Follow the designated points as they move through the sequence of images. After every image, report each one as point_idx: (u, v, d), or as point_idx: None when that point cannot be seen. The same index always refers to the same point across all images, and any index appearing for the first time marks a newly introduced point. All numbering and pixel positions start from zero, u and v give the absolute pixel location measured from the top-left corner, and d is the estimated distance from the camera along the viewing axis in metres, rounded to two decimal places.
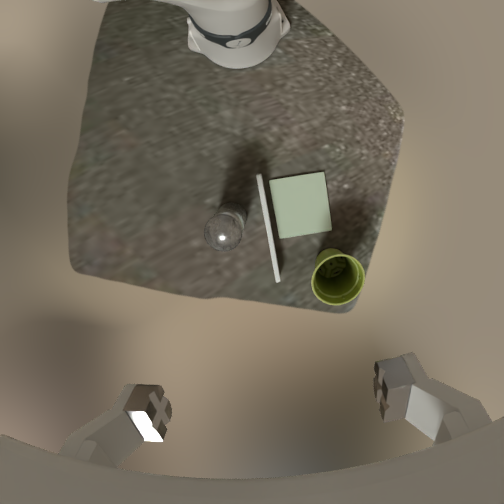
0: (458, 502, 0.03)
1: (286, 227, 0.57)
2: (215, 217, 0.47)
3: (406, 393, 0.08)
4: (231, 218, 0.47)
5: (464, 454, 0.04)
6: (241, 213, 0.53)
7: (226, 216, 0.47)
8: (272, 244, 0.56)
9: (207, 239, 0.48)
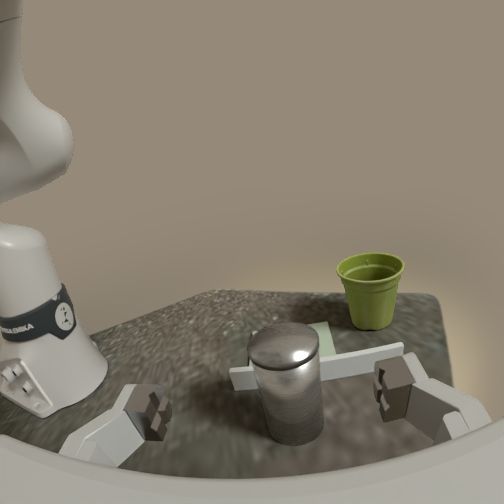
0: (458, 502, 0.03)
1: None
2: (249, 349, 0.24)
3: (406, 393, 0.08)
4: (258, 332, 0.26)
5: (464, 454, 0.04)
6: None
7: (253, 337, 0.26)
8: (340, 355, 0.32)
9: (290, 360, 0.22)
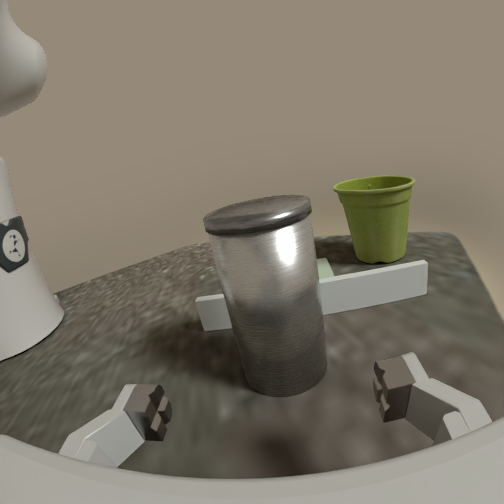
0: (458, 502, 0.03)
1: None
2: (206, 218, 0.16)
3: (406, 393, 0.08)
4: (224, 208, 0.19)
5: (464, 454, 0.04)
6: None
7: (215, 211, 0.18)
8: (344, 275, 0.25)
9: (264, 216, 0.14)
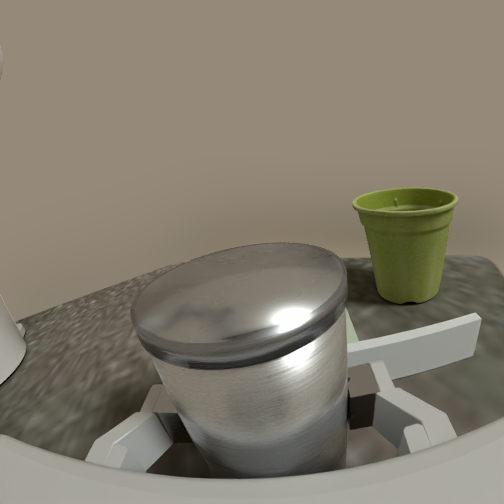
0: (458, 502, 0.03)
1: None
2: (139, 302, 0.08)
3: (371, 401, 0.08)
4: (181, 266, 0.10)
5: (464, 454, 0.04)
6: None
7: (163, 276, 0.10)
8: (372, 341, 0.16)
9: (246, 332, 0.06)
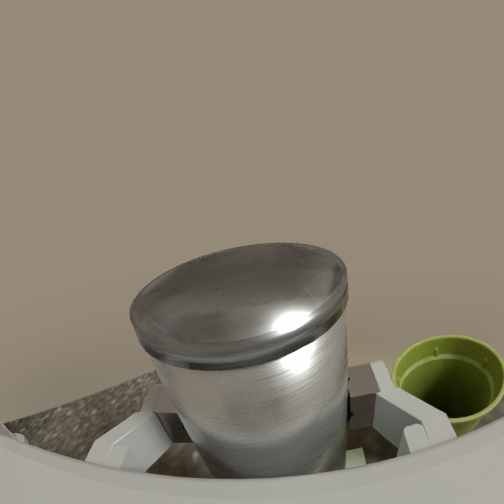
0: (458, 502, 0.03)
1: None
2: (138, 302, 0.08)
3: (371, 402, 0.08)
4: (181, 267, 0.10)
5: (464, 454, 0.04)
6: None
7: (162, 276, 0.10)
8: None
9: (246, 333, 0.06)
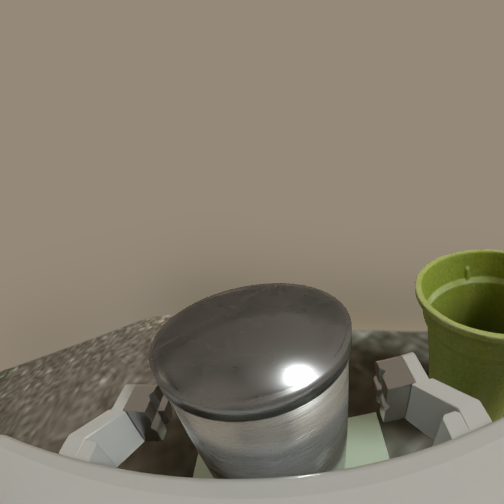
0: (458, 502, 0.03)
1: None
2: (156, 348, 0.08)
3: (406, 393, 0.08)
4: (193, 307, 0.11)
5: (464, 454, 0.04)
6: None
7: (176, 317, 0.10)
8: None
9: (261, 391, 0.06)
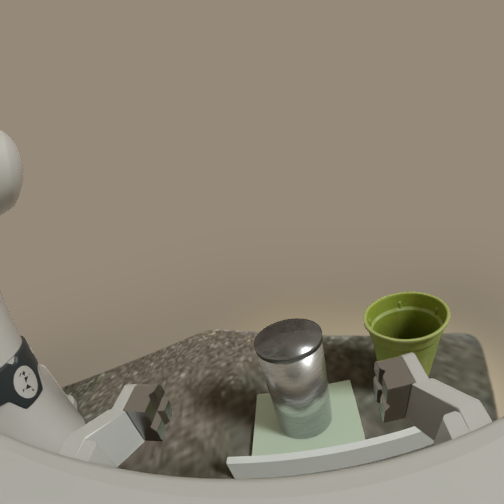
0: (458, 502, 0.03)
1: (344, 436, 0.25)
2: (256, 345, 0.25)
3: (406, 393, 0.08)
4: (264, 329, 0.28)
5: (464, 454, 0.04)
6: None
7: (259, 334, 0.27)
8: (370, 440, 0.21)
9: (294, 353, 0.23)
